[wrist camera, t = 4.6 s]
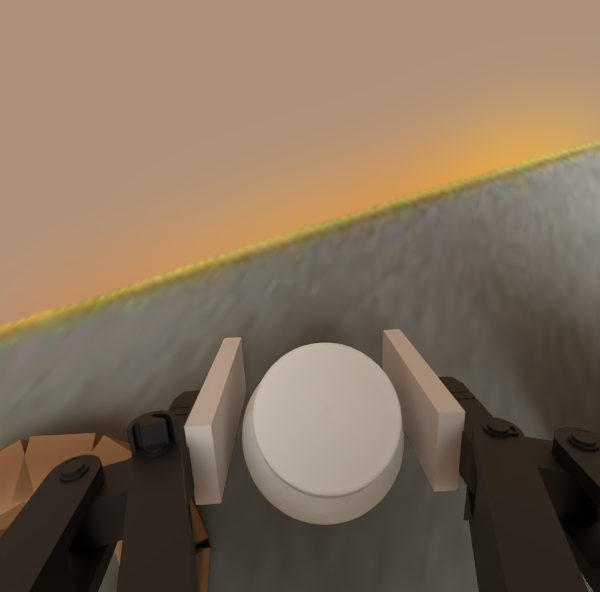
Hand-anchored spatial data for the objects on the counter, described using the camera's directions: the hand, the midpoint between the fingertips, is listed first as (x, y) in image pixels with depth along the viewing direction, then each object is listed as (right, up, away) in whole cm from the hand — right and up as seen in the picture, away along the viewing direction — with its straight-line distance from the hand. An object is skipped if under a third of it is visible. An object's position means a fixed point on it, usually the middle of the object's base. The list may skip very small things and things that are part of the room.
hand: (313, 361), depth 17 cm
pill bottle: (0, -5, +1) cm, 5 cm away
